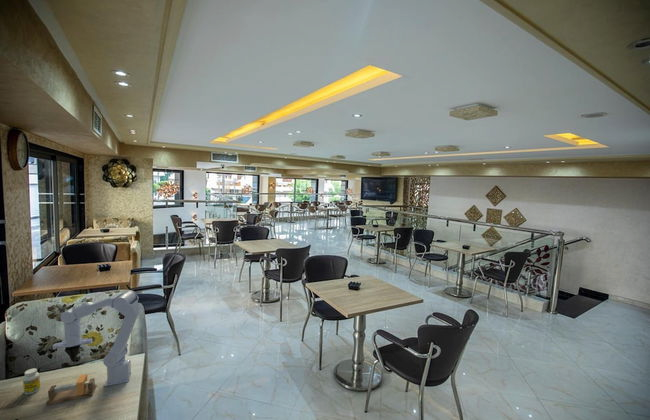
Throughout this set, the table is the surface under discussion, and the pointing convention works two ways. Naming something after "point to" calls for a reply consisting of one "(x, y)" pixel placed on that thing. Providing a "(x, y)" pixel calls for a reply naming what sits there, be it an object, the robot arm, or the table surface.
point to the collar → (81, 385)
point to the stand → (69, 394)
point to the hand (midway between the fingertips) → (73, 360)
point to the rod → (68, 387)
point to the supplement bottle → (31, 381)
